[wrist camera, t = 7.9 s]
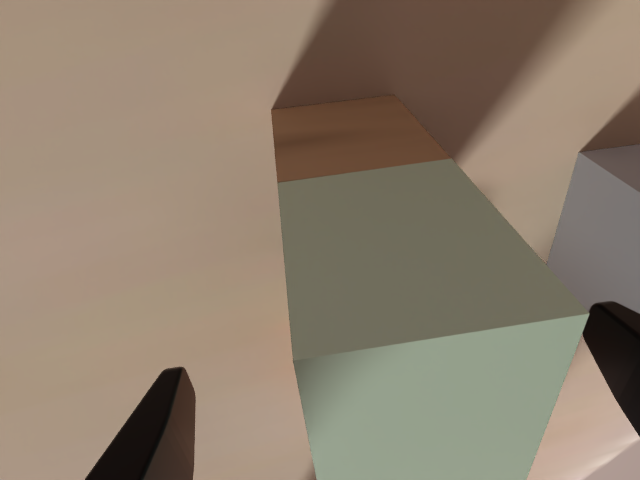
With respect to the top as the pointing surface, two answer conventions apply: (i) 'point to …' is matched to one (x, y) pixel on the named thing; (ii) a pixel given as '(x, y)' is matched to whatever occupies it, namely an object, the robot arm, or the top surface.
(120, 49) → the top surface
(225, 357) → the top surface
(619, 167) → the grey brick
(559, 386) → the sage brick
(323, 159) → the walnut brick
